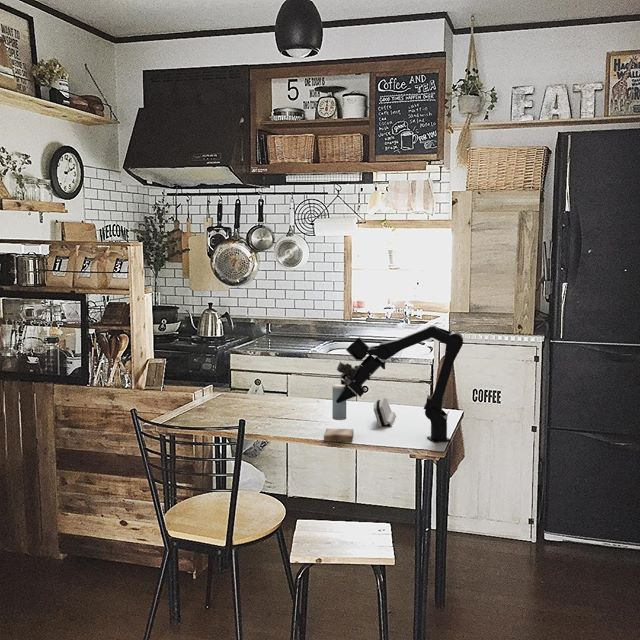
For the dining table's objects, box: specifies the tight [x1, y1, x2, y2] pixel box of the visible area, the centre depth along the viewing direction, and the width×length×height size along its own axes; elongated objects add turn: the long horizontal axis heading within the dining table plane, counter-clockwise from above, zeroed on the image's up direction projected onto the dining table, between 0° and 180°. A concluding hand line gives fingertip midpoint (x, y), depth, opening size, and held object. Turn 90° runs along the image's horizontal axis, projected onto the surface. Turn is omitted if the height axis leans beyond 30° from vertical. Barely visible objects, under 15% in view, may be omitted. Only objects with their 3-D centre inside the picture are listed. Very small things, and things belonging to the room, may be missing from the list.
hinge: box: [373, 397, 397, 428], centre depth 303 cm, size 17×5×10 cm, turn 169°
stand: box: [323, 428, 354, 443], centre depth 280 cm, size 10×10×2 cm
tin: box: [331, 383, 347, 421], centre depth 278 cm, size 5×5×12 cm
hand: (335, 400), depth 278 cm, fingers closed on tin, 5 cm apart
